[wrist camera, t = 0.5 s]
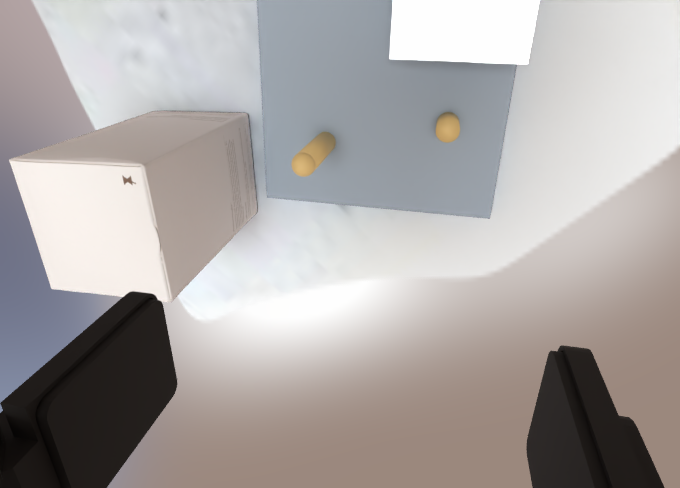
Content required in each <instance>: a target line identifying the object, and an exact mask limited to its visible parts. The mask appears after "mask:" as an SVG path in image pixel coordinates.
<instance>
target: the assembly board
mask: <svg viewBox="0 0 680 488" xmlns="http://www.w3.org/2000/svg"><path fill="white" fill-rule="evenodd" d="M392 8H393V0H257V10H258V30H259V49H260V69H261V89H262V109H263V129H264V148H265V168H266V188H267V197H268V198H278V199H289V200H299V201H310V202H320V203H331V204H341V205H352V206H362V207H373V208H383V209H394V210H404V211H415V212H425V213H435V214H446V215H456V216H467V217H477V218H488V219H490V215H491V209H492V204H493V198H494V192H495V186H496V181H497V175H498V169H499V163H500V158H501V152H502V146H503V140H504V135H505V129H506V123H507V117H508V112H509V106H510V100H511V94H512V89H513V83H514V77H515V71H516V66H517V64H503V63H477V62H452V61H426V60H401V59H389V56H390V40H391V24H392Z"/></svg>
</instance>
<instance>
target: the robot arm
mask: <svg viewBox="0 0 680 488" xmlns="http://www.w3.org/2000/svg"><path fill="white" fill-rule="evenodd" d="M176 388H177V378H176V372H175V367H174V362H173V356H172V351H171V346H170V340H169V335H168V330H167V324H166V319H165V314H164V308H163V304H162V302H161V301H159V300H158V299H157V297H156V296H155V295H154V294H151V293H144V292H136V291H132V292H129V293H127V294H126V295H125V296H124V297H123V298H122V299H120V300H119V301H118V302H117V303H116V304H115V305H113V306H112V307H111V308H110V309H109V310H108V311H106V312H105V313H104V314H103V315H102V316H101V317H100V318H98V319H97V320H96V321H95V322H94V323H93V324H91V325H90V326H89V327H88V328H87V329H86V330H84V331H83V332H82V333H81V334H80V335H79V336H77V337H76V338H75V339H74V340H73V341H72V342H70V343H69V344H68V345H67V346H66V347H65V348H64V349H62V350H61V351H60V352H59V353H58V354H57V355H55V356H54V357H53V358H52V359H51V360H50V361H48V362H47V363H46V364H45V365H44V366H43V367H41V368H40V369H39V370H38V371H37V372H36V373H34V374H33V375H32V376H31V377H30V378H29V379H28V380H26V381H25V382H24V383H23V384H22V385H21V386H19V387H18V388H17V389H16V390H15V391H14V392H12V393H11V394H10V395H9V396H8V397H7V398H5V400H3V401H2V402H1V403H0V404H1V406H2V409H3V411H2V412H1V413H0V488H107V486H108V485H109V483H110V482H111V481H112V479H113V478H114V477H115V475H116V474H117V473H118V471H119V470H120V468H121V467H122V466H123V464H124V463H125V462H126V460H127V459H128V457H129V456H130V455H131V453H132V452H133V451H134V449H135V448H136V447H137V445H138V444H139V442H140V441H141V439H142V438H143V437H144V435H145V434H146V433H147V431H148V430H149V429H150V427H151V426H152V424H153V423H154V422H155V420H156V419H157V418H158V416H159V415H160V413H161V412H162V411H163V409H164V408H165V407H166V405H167V404H168V403H169V401H170V400H171V398H172V397H173V395H174V394H175V391H176ZM527 458H528V463H529V469H530V474H531V481H532V486H533V488H664V486H663V483H662V481H661V479H660V477H659V474H658V473H657V470H656V468H655V466H654V463H653V461H652V459H651V457H650V455H649V453H648V450H647V448H646V446H645V444H644V442H643V439H642V437H641V435H640V433H639V431H638V428H637V426H636V425H635V423H634V421H633V420H632V419H630V418H629V417H623V416H618V413H617V411H616V408H615V407H614V404H613V401H612V399H611V397H610V394H609V392H608V390H607V387H606V385H605V383H604V380H603V378H602V376H601V373H600V371H599V368H598V366H597V363H596V361H595V359H594V356H593V354H592V352H591V350H589V349H585V348H578V347H570V346H560V348H559V349H558V352H556V351H550V352H549V355H548V358H547V362H546V366H545V371H544V374H543V378H542V382H541V386H540V390H539V394H538V398H537V402H536V406H535V410H534V414H533V418H532V422H531V426H530V430H529V434H528V439H527Z"/></svg>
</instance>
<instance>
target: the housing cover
mask: <svg viewBox="0 0 680 488" xmlns="http://www.w3.org/2000/svg"><path fill="white" fill-rule="evenodd" d="M539 1H540V0H393V8H392V24H391V40H390V56H389V59H401V60H426V61H452V62H477V63H503V64H528V61H529V55H530V50H531V45H532V39H533V34H534V28H535V23H536V17H537V12H538V6H539Z"/></svg>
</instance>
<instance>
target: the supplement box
mask: <svg viewBox="0 0 680 488" xmlns="http://www.w3.org/2000/svg"><path fill="white" fill-rule="evenodd" d="M9 162H10V164H11V167H12V170H13V173H14V176H15V179H16V181H17V185H18V188H19V191H20V193H21V197H22V199H23V203H24V206H25V209H26V211H27V214H28V217H29V220H30V223H31V227H32V230H33V233H34V236H35V239H36V242H37V245H38V248H39V251H40V254H41V257H42V261H43V264H44V267H45V270H46V273H47V276H48V279H49V282H50V285H51V288H52V289H59V290H66V291H75V292H84V293H95V294H104V295H113V296H121V297H124V296H125V295H126V294H127V293H129V292H132V291H136V292H144V293H151V294H154V295H155V296H156V297H157V299H158V300H159V301H163V302H172V301H173V300H174V299H175V298H176V297H177V296H178V294H179V293H180V292H181V291H182V290H183V289H184V288H185V287H186V286H187V285H188V284H189V283H190V282H191V281H192V280H193V279H194V278H195V276H196V275H197V274H198V273H199V272H200V271H201V270H202V269H203V268H204V267H205V266H206V265H207V264H208V263H209V262H210V261H211V260H212V259H213V258H214V257H215V256H216V255H217V253H218V252H219V251H220V250H221V249H222V248H223V247H224V246H225V245H226V244H227V243H228V242H229V241H230V240H231V239H232V238H233V237H234V236H235V235H236V234H237V233H238V232H239V231H240V230H241V228H242V227H243V226H244V225H245V224H246V223H247V222H248V221H249V220H250V219H251V218H252V217H253V216H254V215H255V214H256V213H257V200H256V190H255V180H254V169H253V159H252V148H251V138H250V128H249V119H248V114H247V113H226V112H184V111H153V112H150V113H147V114H144V115H141V116H138V117H135V118H131V119H129V120H126V121H123V122H120V123H117V124H114V125H111V126H108V127H105V128H102V129H99V130H96V131H93V132H90V133H88V134H85V135H82V136H79V137H76V138H73V139H70V140H67V141H63V142H61V143H58V144H55V145H52V146H49V147H45V148H42V149H39V150H36V151H33V152H30V153H28V154H24V155H21V156H18V157H15V158H12V159H10V160H9Z"/></svg>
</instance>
